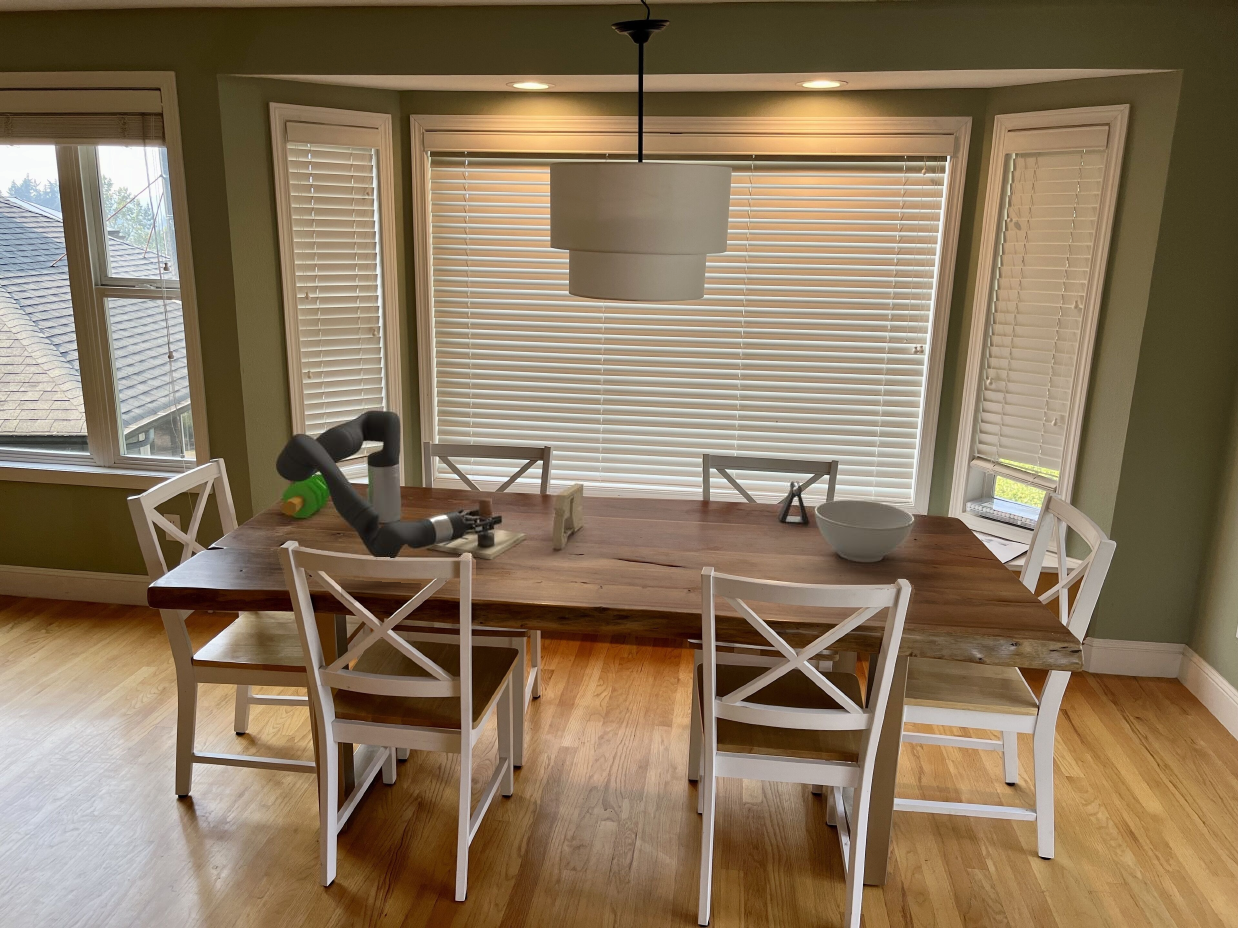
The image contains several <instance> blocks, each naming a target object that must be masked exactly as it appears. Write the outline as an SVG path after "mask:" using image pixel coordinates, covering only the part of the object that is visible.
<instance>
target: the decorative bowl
mask: <svg viewBox="0 0 1238 928" xmlns="http://www.w3.org/2000/svg"><path fill="white" fill-rule="evenodd" d="M814 517H815V522H816V525H817V527H818V529H819V531H820V533H821V535H822V537H823V538H824V539H825V541H826V542H827V543H828V544H829V545H830V546H831V547H832V548H833V549H835V550H836V551H837V554H838V555H839V556H840V557H841V558H844V559H846V560H849V561H853V562H858V563H859V562H860V563H874V562H878V561H881V560H883V558H884V556H886V555H889V554H891V553H892V552H893V551H895V550H897V549H898V548H899V547H900V546H901V545H902V544H903V543H904V542H905V540H906V539H907V538H908V536H909V534H910V533H911V531H912V530H913V528H914V524H915V521H916V519H915V517H914V515H913V514H911V513H910V512H909V511H908V510H905V509H903V508H900V507H897V506H895V505H890V504H886V503H882V502H876V501H869V500H868V501H867V500H857V499H856V500H855V499H852V500H851V499H845V500H844V499H841V500H832V501H831V500H830V501H827V502H826V501H825V502H822V503H820V504H818V505H817V506H816V507H815V508H814Z"/></svg>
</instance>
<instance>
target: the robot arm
mask: <svg viewBox="0 0 1238 928" xmlns="http://www.w3.org/2000/svg"><path fill="white" fill-rule="evenodd" d="M364 442H377V443H382V449H380V450H377V451H375V452H371V453H369V454H368V455H367V458H366V459H367V460H366V461H367V476H368V483H367V484H368V487H367V488H366V489H365V494H366V495H365V496H366V498H364V496H363V495H361V494H360V493H359V492H358V491H357V489H356V488H355V487H354V486H353V485H352V484H351V483H350V481H349V479H348V478H347V477H346V476H345V474H344V473H343V471H342V470H341V469H340V468H339V466H338V464H337V463H338V462H340V461H344V460H346V459H347V458H350V457H353V456H354V455H356V454H358V452H359V451H360V450H362V447H363V443H364ZM400 456H401V420H400V417H399V415H398V413H397V412H395V411H385V410H372V409H371V410H367V411H366V412H364V413H362V414H360V415H359V416H357V417H356V418H354V419H352V420H349V421H346V422H344V423H341V424H338V425H335V426H333V427H330V428H328V429H326V430H325V431H324V432H322V433H321V434H320V435H318V437H316V438H314V437H312V436H310V435H309V434H304V433H295V434H294V435H293V436H292V437H291V438H290V439H289V440H288V442H287V443H286V444H285V446H284V448H283V449H282V450H281V452H280V453H279V455H278V456H277V459H276V460H275V461H276V462H275V469H276V472H277V474H278V475H279V476H280V477H281V478H283V479H285V480H287V481H290V482H293V483H294V482H295V483H296V482H301V481H305V480H307V479H309V478H310V477H311V476H314V474H318V473H319V474H321V475H322V476H323V478H324V480H325V482H326V484H327V487H328V490H329V492H330V496H329V497H330V498H331V501H332V503H333V507H335V510H336V512H337V513H338V514H339V515H340V516H341V518H343V520H345V521H346V522H347V523H348V524H349V525H350V526H351V528H353V529H354V530H355V531H356V532H357V534H358V536H359V538H360V540H361V541H362V543H363V545H364V546H365V548H366V549H367V551H368V552H369V553H370V555H371V556H373V557H374V558H375V557H390V558H395V559H396V557H398V555H399V553H400V551H401V549H403V546H406V545H407V546H408V547H409V548H411V549H415V550H416V549H422V548H427V547H428V546H430V545H434V544H441V543H444V542H448V541H452V540H456V539H459V538H461V537H462V536H463V535H464V533H465V531H472V530H475V533H477V534H478V533H482V532H486V531H490V530H494V529H495V526H496V525H501V524H502V523H503V516H502V515H499V514H498V515H495V516H492V517H490V518H483V517H482V516H479V508H476V509H472V510H465V509H462V508H461V509H457V510H451V511H447V512H443V513H439V514H435V515H431V516H429V517H426V518H423V519H419V520H414V521H399V520H401V519H402V505H401V504H402V501H401V500H402V499H401V477H400V476H401V475H400V472H401V471H400ZM479 520H480V523H479V522H478V523H477V521H479ZM483 521H484V522H483ZM382 523H383V525H382V526H380V524H382Z"/></svg>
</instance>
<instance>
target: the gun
mask: <svg viewBox="0 0 1238 928" xmlns="http://www.w3.org/2000/svg"><path fill="white" fill-rule="evenodd" d="M583 498H584V483H578V482H576V483H574V484H572V485H571V486H570V487H568V488H566V489H564V490H562V491H561V492H560V491H559V493H558V494H556V498H555V502H554V507H553V510H554V511H555V512H554V518H553V526H552V527H553V528H552V535H551V536H552V546H553V547H552V548H553V549H555V550H563V549H564V548H565V546H566V544H567V542H568V537H569V536H570V535H571V534H575V533H576V532H577V531H578V530H579V529H580V528H582V526H584V522H583V506H582V499H583Z"/></svg>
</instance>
